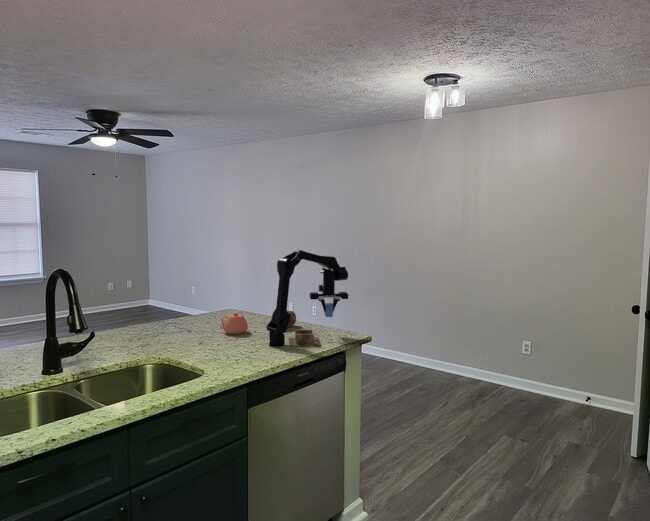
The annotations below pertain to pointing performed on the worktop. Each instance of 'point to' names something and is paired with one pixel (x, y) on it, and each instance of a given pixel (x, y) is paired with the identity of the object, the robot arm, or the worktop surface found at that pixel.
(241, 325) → the sugar bowl
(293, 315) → the tin
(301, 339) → the cradle
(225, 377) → the worktop surface
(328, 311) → the block
